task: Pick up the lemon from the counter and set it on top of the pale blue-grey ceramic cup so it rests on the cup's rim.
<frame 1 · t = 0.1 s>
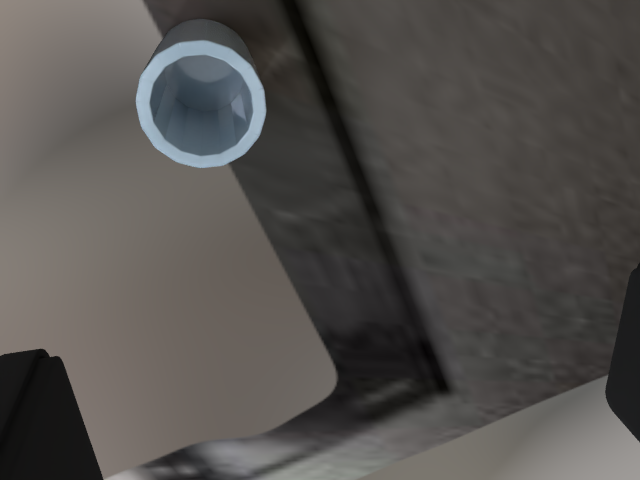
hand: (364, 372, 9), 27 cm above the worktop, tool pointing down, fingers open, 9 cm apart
cup: (204, 70, 33), on the worktop
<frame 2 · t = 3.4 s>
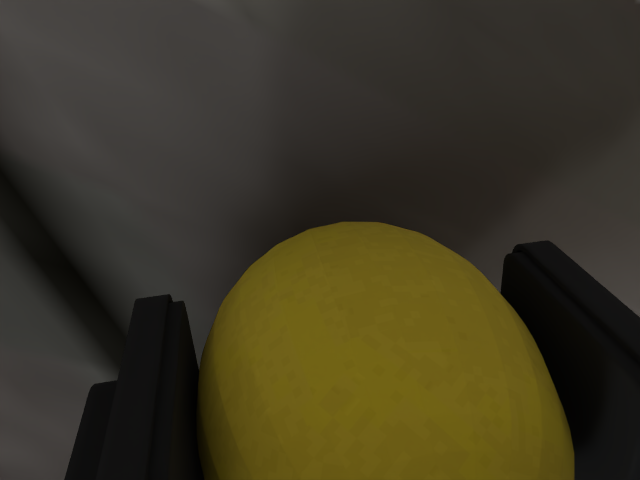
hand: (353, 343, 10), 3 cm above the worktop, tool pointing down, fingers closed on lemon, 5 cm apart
lemon: (323, 273, 13), on the worktop, touching gripper
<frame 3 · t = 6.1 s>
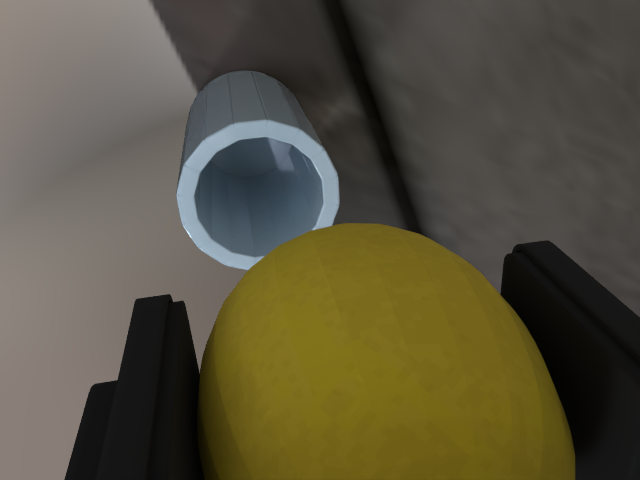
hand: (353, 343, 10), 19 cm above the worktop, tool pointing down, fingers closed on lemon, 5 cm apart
cup: (246, 129, 28), on the worktop
lemon: (323, 274, 13), point 16 cm above the worktop, touching gripper
when the fingers open (11 cm above the worktop, at t = 8.8 s): lemon stays where it is, resting on cup.
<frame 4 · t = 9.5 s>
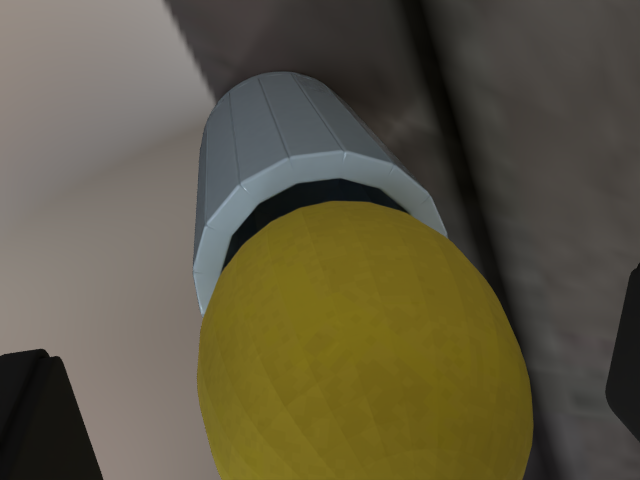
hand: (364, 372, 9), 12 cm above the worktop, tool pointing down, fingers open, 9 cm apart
cup: (281, 151, 20), on the worktop
lemon: (315, 255, 14), point 7 cm above the worktop, touching cup
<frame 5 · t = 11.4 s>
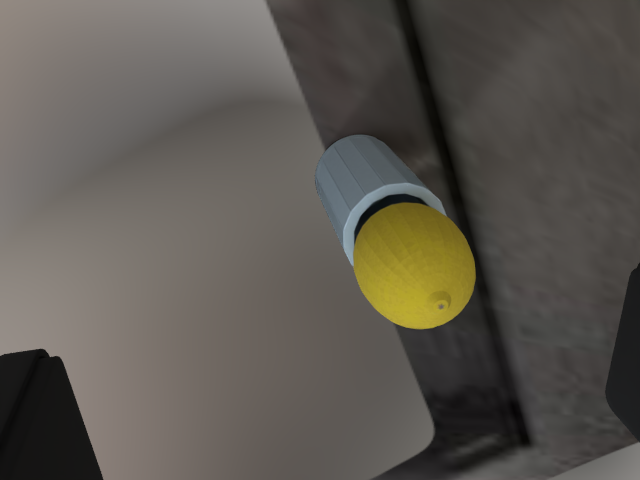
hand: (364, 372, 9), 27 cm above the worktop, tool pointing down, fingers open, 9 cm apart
cup: (356, 175, 38), on the worktop
lemon: (387, 226, 31), point 7 cm above the worktop, touching cup
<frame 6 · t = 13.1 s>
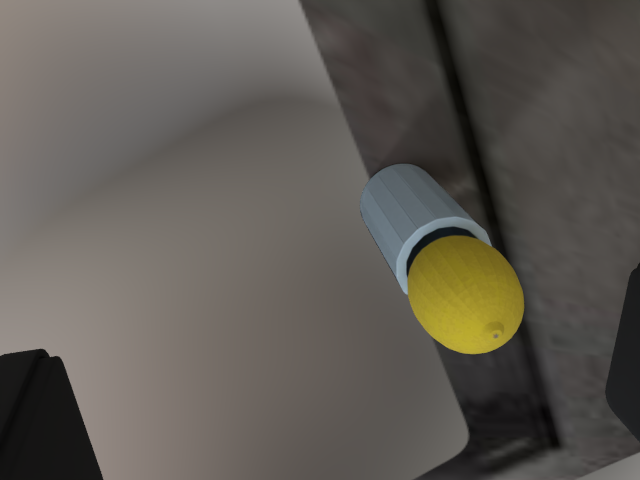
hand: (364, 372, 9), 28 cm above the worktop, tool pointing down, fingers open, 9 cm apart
cup: (398, 201, 40), on the worktop
lemon: (434, 254, 34), point 7 cm above the worktop, touching cup
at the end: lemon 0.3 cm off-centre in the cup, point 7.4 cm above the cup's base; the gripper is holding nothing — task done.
